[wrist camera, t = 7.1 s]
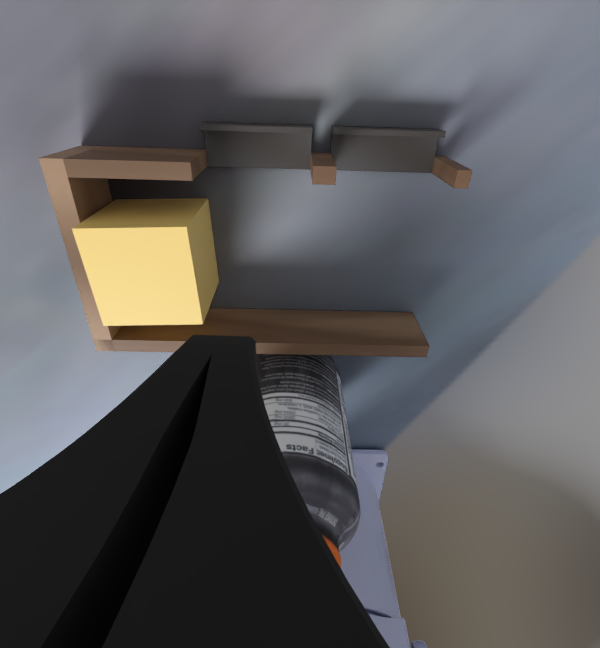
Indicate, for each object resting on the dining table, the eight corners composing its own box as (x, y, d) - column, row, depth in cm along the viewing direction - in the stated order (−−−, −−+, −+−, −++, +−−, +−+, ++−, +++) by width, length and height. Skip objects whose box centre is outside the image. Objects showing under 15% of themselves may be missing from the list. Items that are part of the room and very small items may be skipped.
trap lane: (410, 322, 20) (426, 357, 18) (122, 316, 20) (96, 350, 18) (450, 129, 16) (480, 138, 13) (73, 117, 15) (28, 125, 13)
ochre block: (219, 280, 19) (202, 324, 16) (137, 282, 19) (103, 325, 16) (208, 197, 17) (186, 226, 14) (116, 199, 17) (71, 228, 14)
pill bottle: (277, 430, 24) (264, 656, 15) (213, 369, 22) (146, 594, 12) (359, 387, 23) (405, 613, 13) (300, 315, 20) (302, 530, 10)
